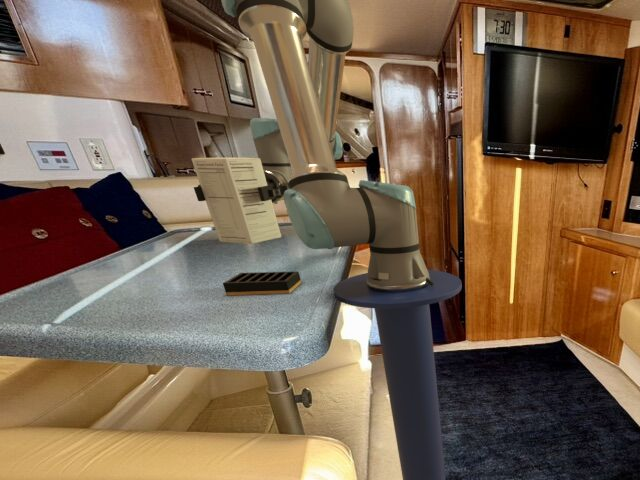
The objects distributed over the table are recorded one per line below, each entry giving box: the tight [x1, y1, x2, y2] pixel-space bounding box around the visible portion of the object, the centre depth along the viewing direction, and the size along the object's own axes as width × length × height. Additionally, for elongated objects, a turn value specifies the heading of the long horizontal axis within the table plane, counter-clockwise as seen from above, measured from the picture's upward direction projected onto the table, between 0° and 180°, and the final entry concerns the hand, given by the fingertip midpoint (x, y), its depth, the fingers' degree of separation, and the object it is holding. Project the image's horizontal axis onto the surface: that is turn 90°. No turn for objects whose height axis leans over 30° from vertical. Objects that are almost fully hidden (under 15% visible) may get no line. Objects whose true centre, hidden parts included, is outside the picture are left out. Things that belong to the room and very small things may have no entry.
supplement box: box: [191, 157, 282, 245], centre depth 89 cm, size 10×9×17 cm
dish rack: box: [222, 271, 302, 296], centre depth 98 cm, size 14×10×3 cm
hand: (229, 194), depth 85 cm, fingers closed on supplement box, 12 cm apart
